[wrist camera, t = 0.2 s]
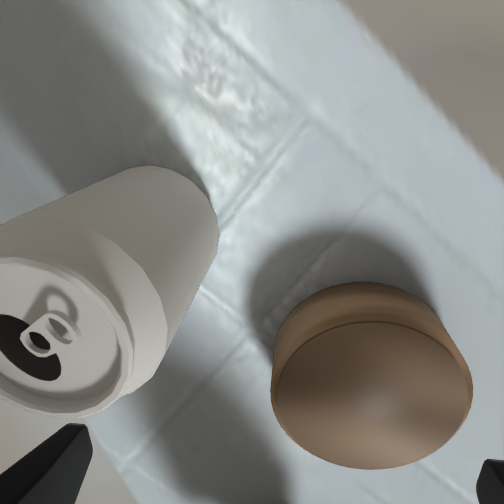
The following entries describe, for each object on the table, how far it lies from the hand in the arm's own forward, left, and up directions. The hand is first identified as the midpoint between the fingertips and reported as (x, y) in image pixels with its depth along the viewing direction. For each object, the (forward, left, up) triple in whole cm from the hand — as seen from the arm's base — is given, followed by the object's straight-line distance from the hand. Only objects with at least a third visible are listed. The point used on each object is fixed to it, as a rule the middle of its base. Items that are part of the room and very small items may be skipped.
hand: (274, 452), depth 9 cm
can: (0, +8, -15) cm, 17 cm away
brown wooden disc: (-8, -5, -15) cm, 18 cm away
